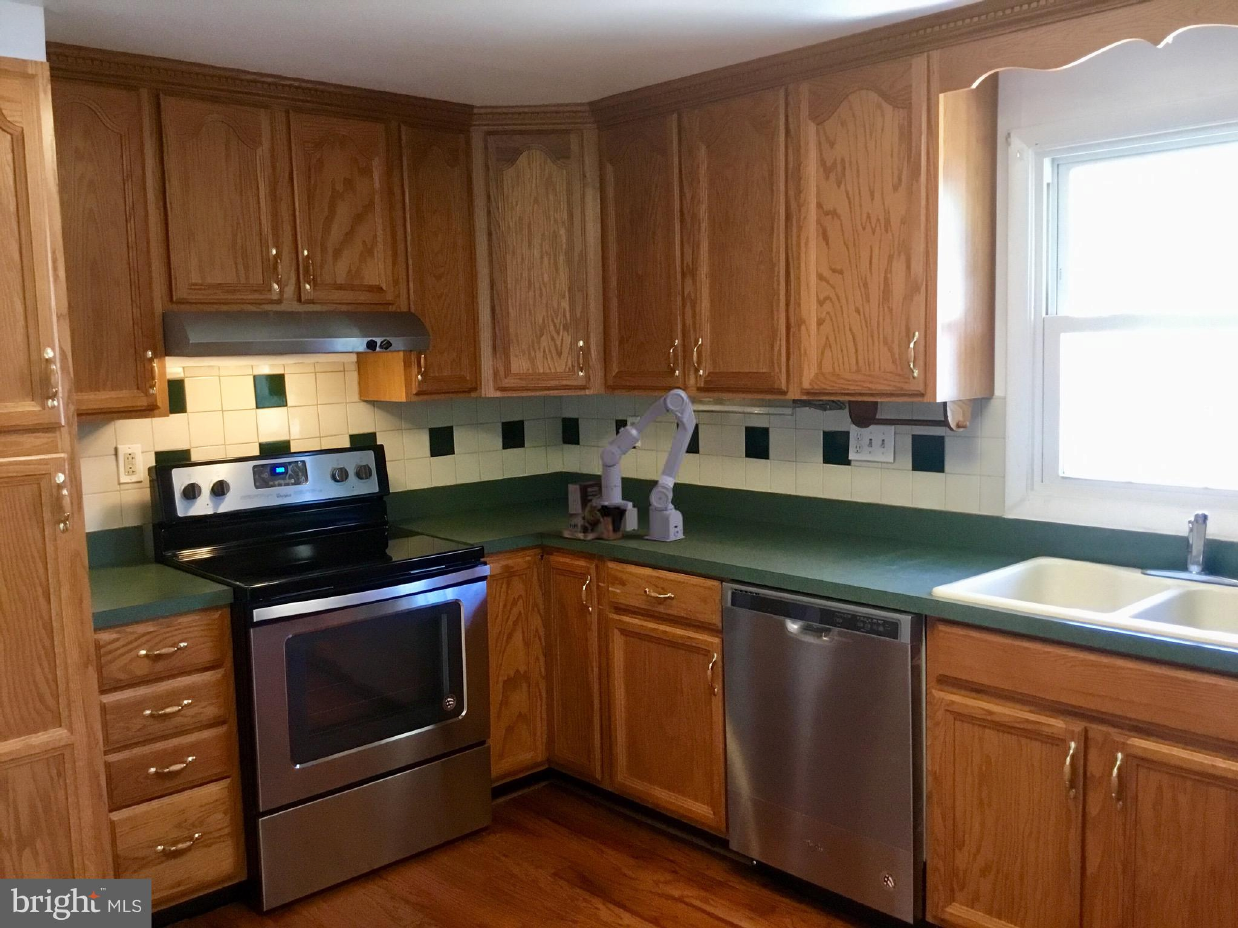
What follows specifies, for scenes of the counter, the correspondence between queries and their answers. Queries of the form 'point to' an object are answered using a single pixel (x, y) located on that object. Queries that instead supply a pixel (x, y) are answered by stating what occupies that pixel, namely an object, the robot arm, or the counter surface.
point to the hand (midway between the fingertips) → (612, 531)
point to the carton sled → (605, 534)
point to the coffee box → (584, 507)
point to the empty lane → (629, 520)
